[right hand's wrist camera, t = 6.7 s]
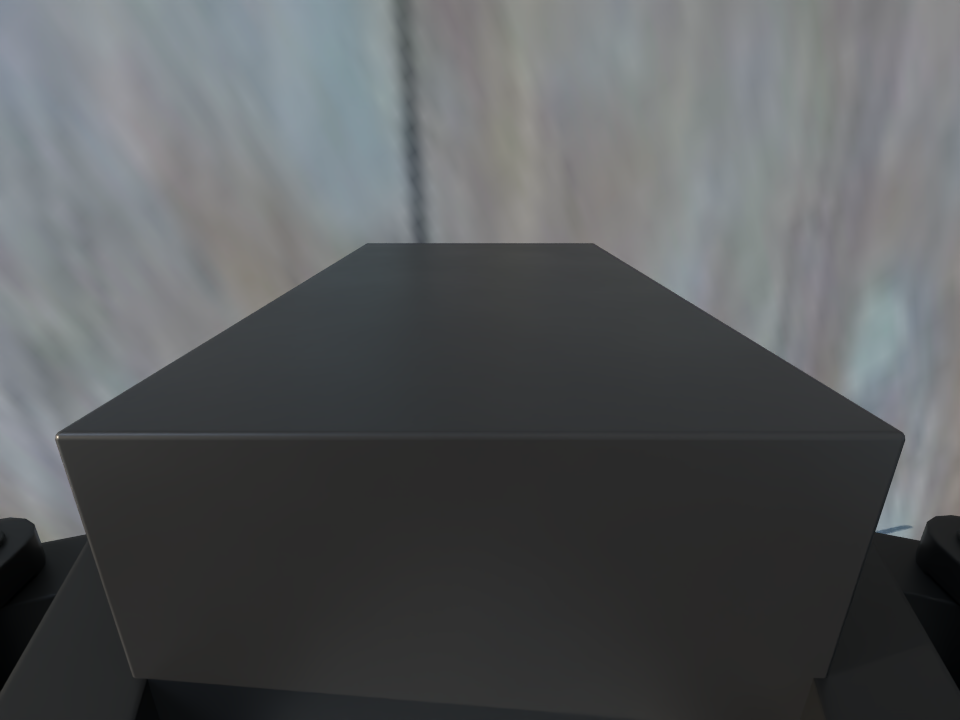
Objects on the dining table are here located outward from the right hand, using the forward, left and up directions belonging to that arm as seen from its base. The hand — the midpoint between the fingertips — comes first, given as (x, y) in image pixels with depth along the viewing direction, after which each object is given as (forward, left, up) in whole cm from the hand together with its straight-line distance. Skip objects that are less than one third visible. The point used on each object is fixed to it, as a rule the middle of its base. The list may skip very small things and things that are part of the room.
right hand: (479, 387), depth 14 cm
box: (+5, +8, -2) cm, 10 cm away
